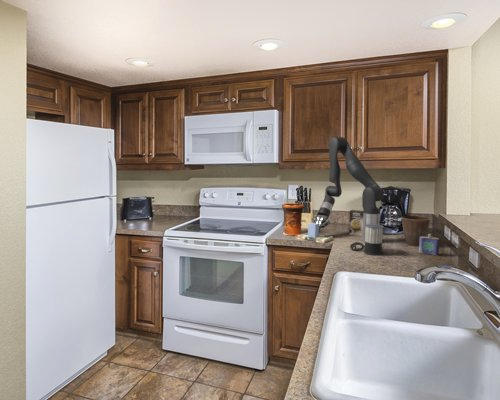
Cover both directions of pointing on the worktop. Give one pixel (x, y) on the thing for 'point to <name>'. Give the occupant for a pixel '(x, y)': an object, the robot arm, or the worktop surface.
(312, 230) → the slate block
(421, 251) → the flask
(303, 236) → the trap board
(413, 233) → the plant pot
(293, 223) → the vessel
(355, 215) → the coffee box
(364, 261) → the worktop surface
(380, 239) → the milk frother
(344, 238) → the worktop surface
